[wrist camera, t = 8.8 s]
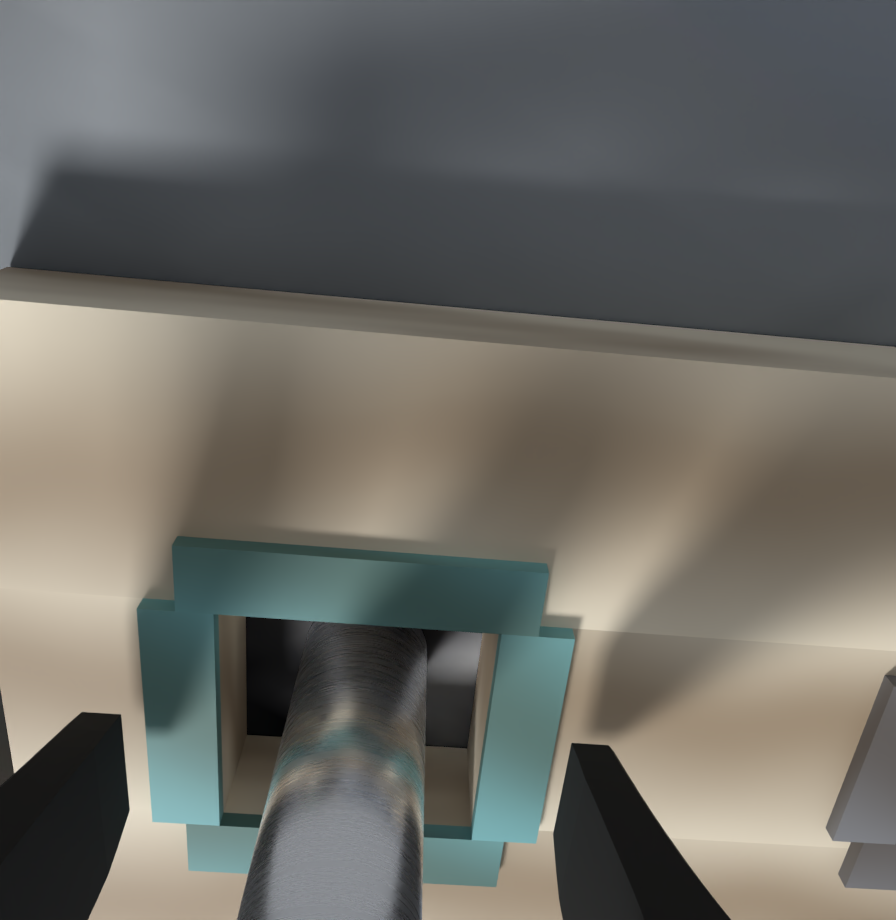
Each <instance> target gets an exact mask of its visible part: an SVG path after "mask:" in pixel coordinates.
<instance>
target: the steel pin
mask: <svg viewBox="0 0 896 920" xmlns="http://www.w3.org/2000/svg"><path fill="white" fill-rule="evenodd" d="M426 683H427V642H426V638H425V635H424V633H423V631H422V629H418V628H403V627H389V626H375V625H360V624H346V623H332V622H317V621H314V622H313V624H312V625H311V627H310V629H309V631H308V634H307V638H306V642H305V646H304V650H303V654H302V658H301V662H300V666H299V670H298V674H297V678H296V682H295V686H294V690H293V694H292V699H291V703H290V707H289V711H288V715H287V719H286V723H285V727H284V731H283V735H282V739H281V743H280V747H279V751H278V755H277V759H276V763H275V767H274V771H273V775H272V779H271V783H270V788H269V792H268V796H267V800H266V804H265V808H264V812H263V816H262V820H261V824H260V828H259V832H258V836H257V840H256V844H255V848H254V852H253V856H252V860H251V864H250V868H249V872H248V876H247V881H246V885H245V889H244V893H243V897H242V901H241V905H240V909H239V913H238V917H237V920H422V889H423V838H424V786H425V735H426Z"/></svg>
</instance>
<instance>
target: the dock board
mask: <svg viewBox="0 0 896 920" xmlns="http://www.w3.org/2000/svg"><path fill="white" fill-rule="evenodd" d="M246 617H260V618H274V619H289V620H303V621H317V622H332V623H346V624H360V625H375V626H389V627H403V628H418V629H432V630H446V631H461V632H475V633H483V635H482V642H481V649H480V657H479V664H478V672H477V679H476V687H475V694H474V702H473V709H472V716H471V724H470V731H469V739H468V746H467V748H451V747H434V746H425V786H424V838H423V889H422V920H563V918H562V913H561V908H560V902H559V895H558V885H557V875H556V864H555V852H554V840H553V832H554V827H555V822H556V817H557V812H558V807H559V802H560V797H561V793H562V788H563V783H564V778H565V773H566V768H567V763H568V758H569V753H570V748H571V743H582V744H598V745H609V746H610V747H611V749H612V750H613V751H614V752H615V754H616V756H617V757H618V759H619V761H620V762H621V764H622V766H623V767H624V769H625V770H626V772H627V774H628V775H629V777H630V779H631V780H632V782H633V783H634V785H635V786H636V788H637V790H638V791H639V793H640V794H641V796H642V797H643V799H644V801H645V802H646V804H647V805H648V807H649V808H650V810H651V811H652V813H653V814H654V816H655V817H656V819H657V820H658V822H659V823H660V825H661V826H662V828H663V829H664V831H665V832H666V833H667V835H668V836H669V838H670V839H671V841H672V842H673V843H674V845H675V846H676V848H677V849H678V850H679V852H680V853H681V855H682V856H683V857H684V859H685V860H686V862H687V863H688V865H689V866H690V867H691V869H692V870H693V871H694V873H695V874H696V875H697V877H698V878H699V879H700V881H701V882H702V883H703V885H704V886H705V887H706V888H707V890H708V891H709V892H710V894H711V895H712V896H713V897H714V899H715V900H716V901H717V903H718V904H719V905H720V906H721V908H722V909H723V910H724V911H725V913H726V914H727V915H728V916H729V918H730V919H731V920H896V347H891V346H880V345H869V344H858V343H847V342H836V341H825V340H813V339H802V338H791V337H780V336H769V335H758V334H747V333H736V332H725V331H713V330H702V329H691V328H680V327H669V326H658V325H647V324H636V323H625V322H613V321H602V320H591V319H580V318H569V317H558V316H547V315H536V314H525V313H513V312H502V311H491V310H480V309H469V308H458V307H447V306H436V305H425V304H414V303H402V302H391V301H380V300H369V299H358V298H347V297H336V296H325V295H314V294H302V293H291V292H280V291H269V290H258V289H247V288H236V287H225V286H214V285H202V284H191V283H180V282H169V281H158V280H147V279H136V278H125V277H114V276H102V275H91V274H80V273H69V272H58V271H47V270H36V269H25V268H14V267H6V268H4V269H1V270H0V689H1V695H2V701H3V707H4V713H5V719H6V725H7V731H8V737H9V743H10V750H11V756H12V762H13V768H14V773H15V772H16V771H18V770H19V769H20V768H21V767H22V766H23V765H24V764H25V763H26V762H27V761H29V760H30V759H31V758H32V757H33V756H34V755H35V754H36V753H37V752H38V751H39V750H40V749H42V748H43V747H44V746H45V745H46V744H47V743H48V742H49V741H50V740H51V739H52V738H53V737H54V736H55V735H57V734H58V733H59V732H60V731H61V730H62V729H63V728H64V727H65V726H66V725H67V724H68V723H70V722H71V721H72V720H73V719H74V718H75V717H76V716H78V715H79V714H80V713H81V712H91V713H107V714H121V718H122V730H123V741H124V752H125V763H126V774H127V785H128V797H129V808H130V811H129V814H128V817H127V820H126V823H125V827H124V830H123V833H122V836H121V839H120V842H119V845H118V848H117V851H116V854H115V857H114V860H113V863H112V866H111V869H110V871H109V874H108V877H107V879H106V881H105V884H104V886H103V888H102V890H101V893H100V895H99V897H98V899H97V901H96V903H95V906H94V908H93V910H92V912H91V914H90V917H89V919H88V920H237V917H238V913H239V909H240V905H241V901H242V897H243V893H244V889H245V885H246V881H247V876H248V872H249V868H250V864H251V860H252V856H253V852H254V848H255V844H256V840H257V836H258V832H259V828H260V824H261V820H262V816H263V812H264V808H265V804H266V800H267V796H268V792H269V788H270V783H271V779H272V775H273V771H274V767H275V763H276V759H277V755H278V751H279V747H280V743H281V739H282V737H274V736H258V735H247V685H246Z"/></svg>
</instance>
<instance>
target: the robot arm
mask: <svg viewBox="0 0 896 920" xmlns="http://www.w3.org/2000/svg"><path fill="white" fill-rule="evenodd" d="M129 811H130V808H129V797H128V785H127V774H126V763H125V752H124V741H123V730H122V718H121V714H107V713H91V712H81V713H80V714H79V715H78V716H76V717H75V718H74V719H73V720H72V721H71V722H70V723H68V724H67V725H66V726H65V727H64V728H63V729H62V730H61V731H60V732H59V733H58V734H57V735H55V736H54V737H53V738H52V739H51V740H50V741H49V742H48V743H47V744H46V745H45V746H44V747H43V748H42V749H40V750H39V751H38V752H37V753H36V754H35V755H34V756H33V757H32V758H31V759H30V760H29V761H27V762H26V763H25V764H24V765H23V766H22V767H21V768H20V769H19V770H18V771H16V772H15V773H14V774H13V775H12V776H11V777H10V778H9V779H8V780H7V781H5V782H4V783H3V784H2V785H1V786H0V920H88V919H89V917H90V914H91V912H92V910H93V908H94V906H95V903H96V901H97V899H98V897H99V895H100V893H101V890H102V888H103V886H104V884H105V881H106V879H107V877H108V874H109V871H110V869H111V866H112V863H113V860H114V857H115V854H116V851H117V848H118V845H119V842H120V839H121V836H122V833H123V830H124V827H125V823H126V820H127V817H128V814H129ZM553 840H554V852H555V864H556V875H557V885H558V895H559V902H560V908H561V913H562V918H563V920H731V919H730V918H729V916H728V915H727V914H726V913H725V911H724V910H723V909H722V908H721V906H720V905H719V904H718V903H717V901H716V900H715V899H714V897H713V896H712V895H711V894H710V892H709V891H708V890H707V888H706V887H705V886H704V885H703V883H702V882H701V881H700V879H699V878H698V877H697V875H696V874H695V873H694V871H693V870H692V869H691V867H690V866H689V865H688V863H687V862H686V860H685V859H684V857H683V856H682V855H681V853H680V852H679V850H678V849H677V848H676V846H675V845H674V843H673V842H672V841H671V839H670V838H669V836H668V835H667V833H666V832H665V831H664V829H663V828H662V826H661V825H660V823H659V822H658V820H657V819H656V817H655V816H654V814H653V813H652V811H651V810H650V808H649V807H648V805H647V804H646V802H645V801H644V799H643V797H642V796H641V794H640V793H639V791H638V790H637V788H636V786H635V785H634V783H633V782H632V780H631V779H630V777H629V775H628V774H627V772H626V770H625V769H624V767H623V766H622V764H621V762H620V761H619V759H618V757H617V756H616V754H615V752H614V751H613V750H612V749H611V747H610V746H609V745H598V744H582V743H571V748H570V753H569V758H568V763H567V768H566V773H565V778H564V783H563V788H562V793H561V797H560V802H559V807H558V812H557V817H556V822H555V827H554V832H553Z"/></svg>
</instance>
